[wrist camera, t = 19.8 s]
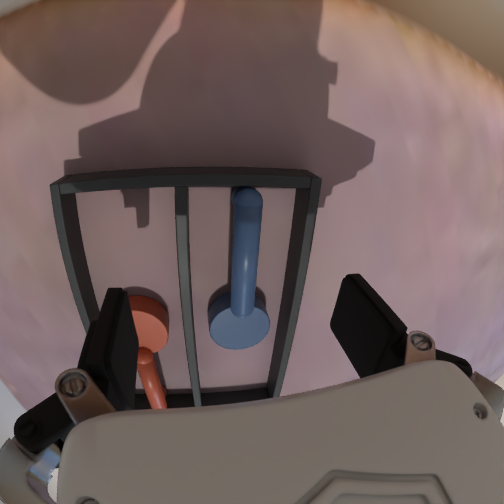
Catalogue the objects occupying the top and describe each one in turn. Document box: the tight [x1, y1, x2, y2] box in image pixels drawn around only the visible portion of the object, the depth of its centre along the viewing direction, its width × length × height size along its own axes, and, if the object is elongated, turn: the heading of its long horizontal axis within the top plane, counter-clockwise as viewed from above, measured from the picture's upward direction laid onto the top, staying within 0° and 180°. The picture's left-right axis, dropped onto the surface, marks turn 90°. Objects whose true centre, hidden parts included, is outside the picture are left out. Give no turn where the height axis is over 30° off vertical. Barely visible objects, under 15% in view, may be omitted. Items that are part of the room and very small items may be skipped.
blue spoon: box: [208, 186, 270, 350], centre depth 17 cm, size 4×11×3 cm, turn 176°
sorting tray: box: [50, 167, 322, 410], centre depth 18 cm, size 14×20×3 cm
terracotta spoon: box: [128, 295, 169, 409], centre depth 19 cm, size 4×11×3 cm, turn 176°
